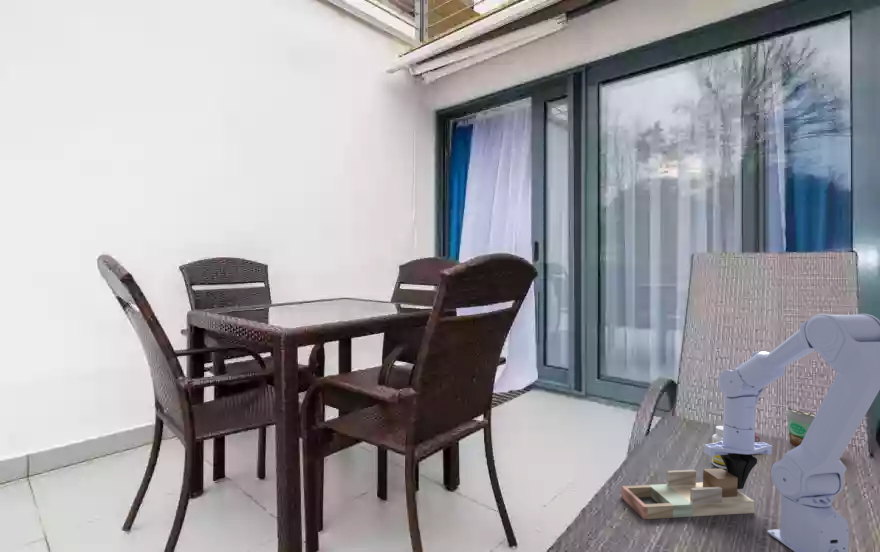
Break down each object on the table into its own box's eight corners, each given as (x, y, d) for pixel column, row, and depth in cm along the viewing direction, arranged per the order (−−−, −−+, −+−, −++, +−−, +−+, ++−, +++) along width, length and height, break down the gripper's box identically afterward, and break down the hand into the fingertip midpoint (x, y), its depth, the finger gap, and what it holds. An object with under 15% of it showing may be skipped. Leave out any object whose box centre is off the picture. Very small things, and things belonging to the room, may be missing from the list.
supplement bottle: (739, 471, 113) (741, 432, 112) (716, 469, 114) (717, 431, 113) (730, 462, 118) (731, 425, 118) (707, 460, 119) (709, 423, 119)
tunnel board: (754, 512, 93) (754, 486, 93) (643, 519, 90) (644, 492, 90) (723, 492, 102) (724, 468, 102) (621, 497, 99) (622, 472, 99)
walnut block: (737, 496, 95) (737, 478, 95) (717, 497, 94) (718, 478, 94) (721, 486, 100) (721, 468, 99) (702, 487, 99) (703, 469, 99)
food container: (774, 441, 133) (775, 407, 133) (786, 437, 136) (787, 405, 135) (824, 457, 122) (825, 421, 122) (836, 453, 124) (837, 418, 124)
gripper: (754, 418, 102) (752, 476, 102) (695, 419, 100) (693, 479, 101) (781, 429, 95) (779, 492, 95) (718, 431, 93) (716, 495, 94)
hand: (736, 486), depth 97 cm, fingers closed
